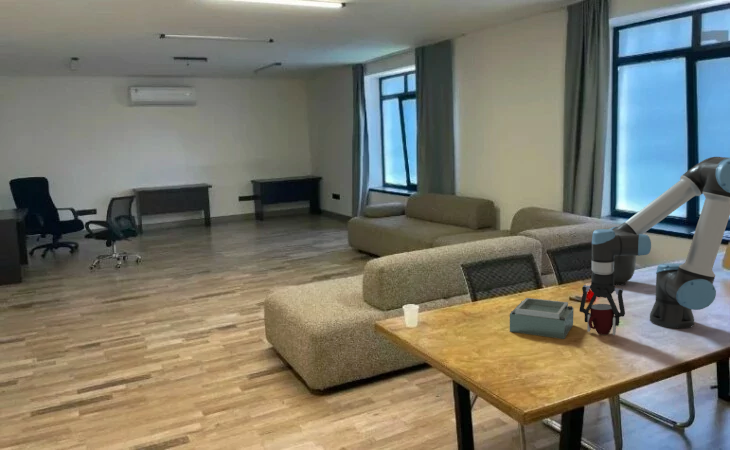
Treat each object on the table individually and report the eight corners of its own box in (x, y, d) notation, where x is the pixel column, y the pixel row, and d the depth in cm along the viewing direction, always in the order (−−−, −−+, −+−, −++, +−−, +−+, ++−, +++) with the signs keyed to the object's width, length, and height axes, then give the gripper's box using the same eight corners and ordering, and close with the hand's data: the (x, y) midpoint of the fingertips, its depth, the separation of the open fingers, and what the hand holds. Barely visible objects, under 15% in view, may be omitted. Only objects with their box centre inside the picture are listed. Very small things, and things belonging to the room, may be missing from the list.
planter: (592, 278, 286) (593, 247, 284) (628, 278, 284) (629, 247, 281) (601, 287, 269) (602, 254, 267) (640, 287, 267) (641, 254, 265)
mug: (601, 339, 203) (600, 312, 202) (582, 335, 210) (581, 308, 209) (619, 332, 208) (618, 306, 207) (600, 328, 215) (599, 302, 214)
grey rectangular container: (573, 324, 221) (573, 302, 219) (564, 339, 206) (564, 315, 205) (521, 318, 231) (521, 296, 229) (509, 331, 216) (509, 308, 215)
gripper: (635, 272, 203) (633, 332, 207) (574, 267, 214) (573, 325, 217) (633, 276, 197) (631, 339, 201) (570, 272, 208) (570, 331, 211)
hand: (601, 332), depth 209 cm, fingers closed on mug, 8 cm apart
